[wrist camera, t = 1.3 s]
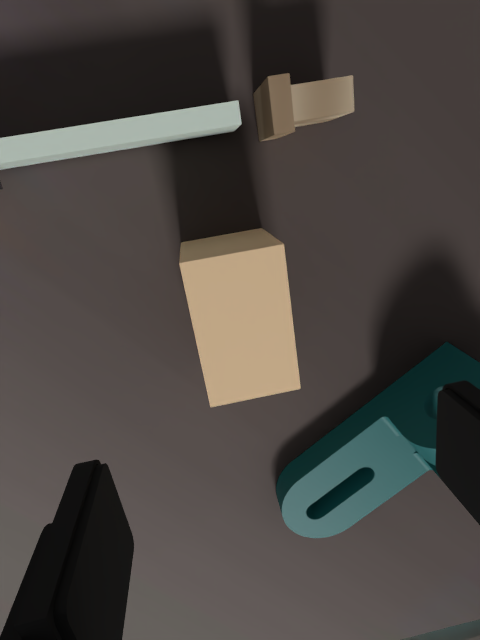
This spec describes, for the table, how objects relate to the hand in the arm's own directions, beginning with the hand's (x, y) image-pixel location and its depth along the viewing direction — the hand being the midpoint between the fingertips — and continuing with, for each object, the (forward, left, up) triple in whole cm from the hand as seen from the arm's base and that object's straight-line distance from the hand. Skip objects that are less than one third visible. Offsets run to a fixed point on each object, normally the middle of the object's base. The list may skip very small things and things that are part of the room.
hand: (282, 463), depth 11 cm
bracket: (-9, +14, -16) cm, 23 cm away
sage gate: (+6, -9, -15) cm, 19 cm away
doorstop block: (0, 0, -16) cm, 16 cm away
